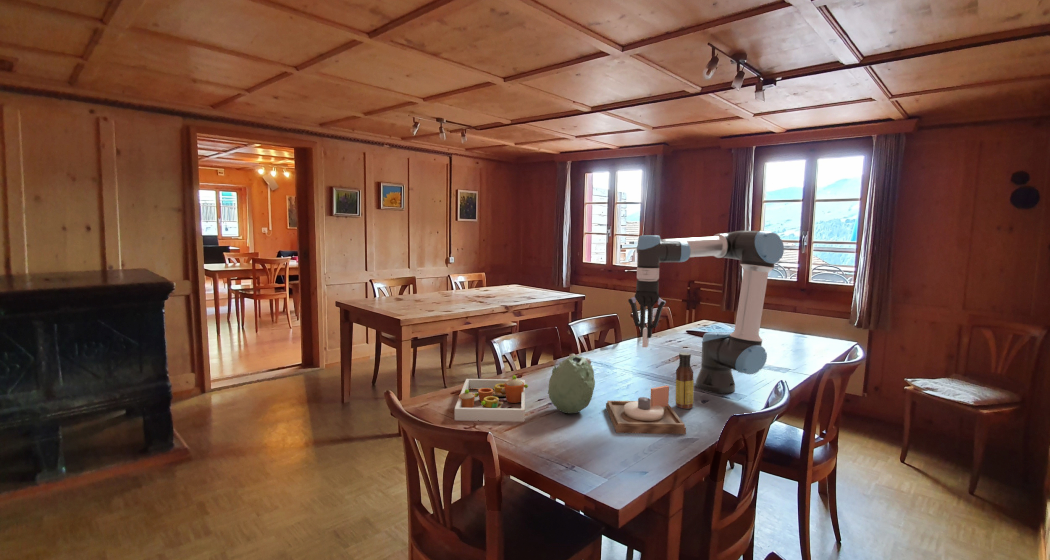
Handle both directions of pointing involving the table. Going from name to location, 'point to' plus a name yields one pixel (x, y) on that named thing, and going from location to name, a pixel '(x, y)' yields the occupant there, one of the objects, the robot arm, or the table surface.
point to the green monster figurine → (572, 384)
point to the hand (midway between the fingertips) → (645, 346)
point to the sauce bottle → (684, 382)
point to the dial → (649, 405)
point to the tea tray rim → (488, 413)
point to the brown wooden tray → (630, 425)
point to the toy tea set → (508, 389)
